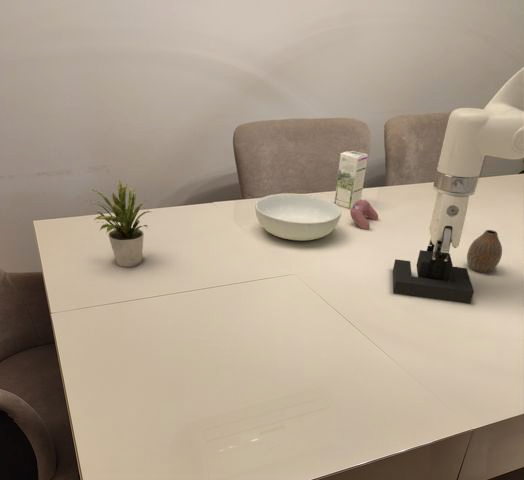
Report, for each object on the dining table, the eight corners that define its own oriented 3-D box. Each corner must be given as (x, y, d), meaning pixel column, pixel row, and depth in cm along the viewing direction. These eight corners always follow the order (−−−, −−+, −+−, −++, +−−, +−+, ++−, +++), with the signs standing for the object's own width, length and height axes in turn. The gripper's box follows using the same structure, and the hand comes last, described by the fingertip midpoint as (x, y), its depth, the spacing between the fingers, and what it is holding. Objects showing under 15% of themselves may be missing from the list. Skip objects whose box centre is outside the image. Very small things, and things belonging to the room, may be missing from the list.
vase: (493, 265, 114) (505, 228, 109) (498, 278, 109) (511, 239, 104) (462, 261, 115) (472, 224, 110) (465, 273, 110) (476, 235, 105)
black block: (445, 269, 105) (449, 253, 103) (448, 281, 100) (452, 265, 98) (416, 265, 106) (420, 250, 104) (417, 277, 101) (421, 261, 99)
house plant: (88, 250, 110) (76, 174, 101) (151, 243, 115) (144, 171, 106) (96, 278, 100) (83, 196, 90) (164, 269, 104) (159, 191, 95)
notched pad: (462, 280, 107) (466, 268, 105) (469, 305, 98) (474, 291, 96) (392, 271, 109) (395, 259, 107) (392, 294, 100) (395, 281, 98)
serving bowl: (263, 252, 114) (265, 223, 110) (247, 220, 131) (248, 193, 127) (349, 248, 118) (354, 220, 114) (323, 218, 135) (326, 192, 131)
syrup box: (360, 205, 146) (369, 153, 137) (349, 210, 142) (357, 156, 134) (344, 200, 149) (351, 149, 140) (333, 205, 145) (340, 152, 137)
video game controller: (364, 223, 138) (356, 198, 135) (379, 218, 135) (372, 193, 133) (353, 234, 130) (345, 208, 128) (369, 229, 128) (361, 203, 125)
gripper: (483, 198, 85) (456, 292, 95) (470, 172, 99) (447, 257, 109) (438, 193, 86) (416, 287, 96) (431, 168, 100) (412, 252, 110)
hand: (432, 270), depth 103 cm, fingers closed on black block, 5 cm apart
